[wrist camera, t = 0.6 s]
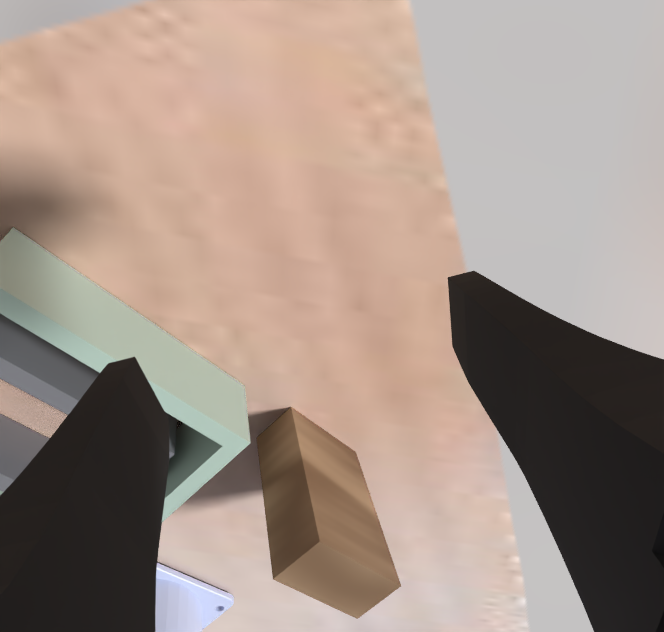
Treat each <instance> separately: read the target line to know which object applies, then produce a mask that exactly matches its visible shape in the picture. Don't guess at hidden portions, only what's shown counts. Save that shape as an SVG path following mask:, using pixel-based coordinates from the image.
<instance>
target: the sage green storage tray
mask: <svg viewBox="0 0 664 632" xmlns="http://www.w3.org/2000/svg"><path fill="white" fill-rule="evenodd" d="M131 357H135V358H136V359H137V361H138V363H139V365H140V367H141V369H142V371H143V372H144V374H145V376H146V378H147V380H148V382H149V384H150V385H151V387H152V389H153V391H154V393H155V395H156V397H157V398H158V400H159V402H160V404H161V406H162V408H163V410H164V411H165V413H166V415H167V417H168V419H169V468H168V476H167V485H166V493H165V501H164V508H163V516H162V522H163V521H164V520H165V519H166V518H167V517H169V516H170V515H171V514H172V513H173V512H174V511H175V510H176V509H178V508H179V507H180V506H181V505H182V504H183V503H184V502H185V501H186V500H188V499H189V498H190V497H191V496H192V495H193V494H194V493H195V492H197V491H198V490H199V489H200V488H201V487H202V486H203V485H204V484H205V483H207V482H208V481H209V480H210V479H211V478H212V477H213V476H214V475H215V474H217V473H218V472H219V471H220V470H221V469H222V468H223V467H224V466H226V465H227V464H228V463H229V462H230V461H231V460H232V459H233V458H234V457H236V456H237V455H238V454H239V453H240V452H241V451H242V450H243V449H245V448H246V447H247V446H248V445H249V444H250V443H251V442H250V432H249V423H248V413H247V403H246V393H245V386H244V385H243V384H242V383H240V382H239V381H237V380H236V379H234V378H233V377H231V376H230V375H228V374H227V373H225V372H224V371H223V370H221V369H220V368H218V367H217V366H215V365H214V364H212V363H211V362H209V361H208V360H207V359H205V358H204V357H202V356H201V355H199V354H198V353H196V352H195V351H193V350H192V349H190V348H189V347H188V346H186V345H185V344H183V343H182V342H180V341H179V340H177V339H176V338H174V337H173V336H171V335H170V334H169V333H167V332H166V331H164V330H163V329H161V328H160V327H158V326H157V325H155V324H154V323H152V322H151V321H150V320H148V319H147V318H145V317H144V316H142V315H141V314H139V313H138V312H136V311H135V310H133V309H132V308H131V307H129V306H128V305H126V304H125V303H123V302H122V301H120V300H119V299H117V298H116V297H114V296H113V295H112V294H110V293H109V292H107V291H106V290H104V289H103V288H101V287H100V286H98V285H97V284H95V283H94V282H93V281H91V280H90V279H88V278H87V277H85V276H84V275H82V274H81V273H79V272H78V271H77V270H75V269H74V268H72V267H71V266H69V265H68V264H66V263H65V262H63V261H62V260H60V259H59V258H58V257H56V256H55V255H53V254H52V253H50V252H49V251H47V250H46V249H44V248H43V247H41V246H40V245H39V244H37V243H36V242H34V241H33V240H31V239H30V238H28V237H27V236H25V235H24V234H22V233H21V232H20V231H18V230H17V229H15V228H14V227H13V228H12V229H11V230H10V231H9V233H8V234H7V235H6V236H5V237H4V238H3V239H2V240H1V241H0V379H2V380H4V381H6V382H8V383H9V384H11V385H13V386H15V387H17V388H19V389H21V390H23V391H24V392H26V393H28V394H30V395H32V396H34V397H36V398H37V399H39V400H41V401H43V402H45V403H47V404H49V405H51V406H52V407H54V408H56V409H58V410H60V411H62V412H64V413H65V414H67V415H69V413H70V412H71V411H72V409H73V408H74V407H75V406H76V404H77V403H78V402H79V400H80V399H81V398H82V396H83V395H84V394H85V392H86V391H87V390H88V388H89V387H90V386H91V384H92V383H93V382H94V380H95V379H96V378H97V376H98V375H99V374H100V373H101V371H102V370H103V369H104V368H105V367H106V365H107V364H108V363H111V362H115V361H119V360H123V359H127V358H131ZM177 419H178V420H180V421H181V422H183V424H182V425H181V426H179V427H178V428H177ZM48 440H49V438H47V437H45V436H43V435H41V434H39V433H37V432H36V431H34V430H32V429H30V428H28V427H26V426H24V425H22V424H20V423H18V422H16V421H14V420H12V419H10V418H8V417H6V416H4V415H2V414H0V495H1V494H2V493H3V492H4V491H5V490H6V489H7V488H8V487H9V486H10V485H11V483H12V482H13V481H14V480H15V479H16V478H17V477H18V476H19V475H20V474H21V472H22V471H23V470H24V469H25V468H26V466H27V465H28V464H29V463H30V462H31V460H32V459H33V458H34V457H35V456H36V455H37V453H38V452H39V451H40V450H41V449H42V447H43V446H44V445H45V444H46V443H47V441H48Z"/></svg>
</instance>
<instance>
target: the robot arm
mask: <svg viewBox="0 0 664 632" xmlns="http://www.w3.org/2000/svg"><path fill="white" fill-rule="evenodd" d="M448 287H449V301H450V316H451V330H452V345H453V348H454V351H455V353H456V355H457V358H458V360H459V362H460V365H461V367H462V369H463V371H464V374H465V376H466V378H467V380H468V382H469V384H470V386H471V387H472V389H473V391H474V392H475V394H476V396H477V397H478V399H479V401H480V402H481V404H482V406H483V407H484V409H485V411H486V412H487V414H488V415H489V417H490V419H491V420H492V422H493V423H494V425H495V427H496V428H497V430H498V432H499V433H500V435H501V436H502V438H503V440H504V441H505V443H506V445H507V446H508V448H509V449H510V451H511V453H512V454H513V456H514V458H515V459H516V461H517V463H518V465H519V466H520V468H521V470H522V472H523V474H524V476H525V478H526V480H527V482H528V484H529V486H530V488H531V490H532V492H533V494H534V496H535V498H536V501H537V502H538V505H539V507H540V509H541V511H542V513H543V515H544V517H545V519H546V522H547V524H548V526H549V528H550V531H551V533H552V535H553V537H554V539H555V541H556V544H557V546H558V548H559V550H560V552H561V554H562V557H563V559H564V561H565V564H566V566H567V568H568V571H569V573H570V575H571V578H572V580H573V582H574V585H575V587H576V589H577V591H578V594H579V596H580V598H581V601H582V603H583V605H584V608H585V610H586V612H587V615H588V618H589V620H590V622H591V625H592V627H593V630H594V632H664V360H663V359H660V358H657V357H653V356H651V355H647V354H645V353H642V352H638V351H636V350H633V349H630V348H627V347H625V346H622V345H620V344H617V343H615V342H612V341H609V340H607V339H604V338H602V337H599V336H597V335H594V334H592V333H590V332H587V331H585V330H583V329H581V328H579V327H577V326H575V325H572V324H570V323H568V322H566V321H564V320H562V319H560V318H558V317H556V316H554V315H552V314H550V313H548V312H546V311H544V310H542V309H540V308H538V307H536V306H535V305H533V304H531V303H529V302H527V301H525V300H524V299H522V298H520V297H518V296H517V295H515V294H513V293H512V292H510V291H508V290H506V289H505V288H503V287H501V286H500V285H498V284H496V283H494V282H493V281H491V280H489V279H487V278H486V277H484V276H482V275H481V274H479V273H477V272H475V271H471V272H467V273H463V274H460V275H456V276H452V277H448ZM168 468H169V419H168V417H167V415H166V413H165V411H164V410H163V408H162V406H161V404H160V402H159V400H158V398H157V397H156V395H155V393H154V391H153V389H152V387H151V385H150V384H149V382H148V380H147V378H146V376H145V374H144V372H143V371H142V369H141V367H140V365H139V363H138V361H137V359H136V358H135V357H131V358H127V359H123V360H119V361H115V362H111V363H108V364H107V365H106V367H105V368H104V369H103V370H102V371H101V373H100V374H99V375H98V376H97V378H96V379H95V380H94V382H93V383H92V384H91V386H90V387H89V388H88V390H87V391H86V392H85V394H84V395H83V396H82V398H81V399H80V400H79V402H78V403H77V404H76V406H75V407H74V408H73V409H72V411H71V412H70V413H69V415H68V416H67V417H66V419H65V420H64V421H63V423H62V424H61V425H60V426H59V428H58V429H57V430H56V432H55V433H54V434H53V435H52V437H51V438H50V439H49V440H48V441H47V443H46V444H45V445H44V446H43V447H42V449H41V450H40V451H39V452H38V453H37V455H36V456H35V457H34V458H33V459H32V460H31V462H30V463H29V464H28V465H27V466H26V468H25V469H24V470H23V471H22V472H21V474H20V475H19V476H18V477H17V478H16V479H15V480H14V481H13V482H12V483H11V485H10V486H9V487H8V488H7V489H6V490H5V491H4V492H3V493H2V494H1V495H0V632H202V630H203V629H204V628H205V627H206V626H208V625H209V624H210V623H211V622H213V621H214V620H215V619H216V618H217V617H219V616H220V615H221V614H222V613H224V612H225V611H226V610H227V609H229V608H230V607H231V606H232V605H233V603H234V598H233V595H231V594H229V593H227V592H225V591H222V590H220V589H218V588H215V587H213V586H211V585H208V584H206V583H203V582H201V581H199V580H196V579H194V578H192V577H189V576H187V575H185V574H182V573H180V572H178V571H175V570H173V569H171V568H168V567H166V566H164V565H161V564H159V563H157V557H158V547H159V540H160V532H161V524H162V516H163V508H164V501H165V493H166V485H167V476H168Z"/></svg>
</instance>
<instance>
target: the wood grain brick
mask: <svg viewBox="0 0 664 632" xmlns="http://www.w3.org/2000/svg"><path fill="white" fill-rule="evenodd" d="M257 446H258V454H259V463H260V471H261V480H262V489H263V497H264V506H265V514H266V523H267V531H268V540H269V548H270V557H271V565H272V574H273V579H274V580H276V581H278V582H280V583H282V584H284V585H287V586H289V587H291V588H293V589H295V590H297V591H299V592H301V593H304V594H306V595H308V596H310V597H312V598H314V599H316V600H318V601H321V602H323V603H325V604H327V605H329V606H331V607H333V608H335V609H338V610H340V611H342V612H344V613H346V614H348V615H350V616H353V617H355V618H357V619H358V618H359V617H360V616H362V615H363V614H364V613H366V612H367V611H368V610H370V609H371V608H372V607H374V606H375V605H376V604H378V603H379V602H380V601H382V600H383V599H384V598H386V597H387V596H388V595H390V594H391V593H392V592H394V591H395V590H396V589H398V588H399V587H400V586H401V584H400V581H399V578H398V575H397V572H396V569H395V567H394V564H393V561H392V558H391V555H390V552H389V549H388V546H387V543H386V540H385V537H384V534H383V531H382V528H381V525H380V522H379V519H378V516H377V513H376V511H375V508H374V505H373V502H372V499H371V496H370V493H369V490H368V487H367V484H366V481H365V478H364V475H363V472H362V469H361V466H360V463H359V460H358V457H357V455H356V452H355V451H353V450H352V449H351V448H349V447H348V446H346V445H345V444H343V443H342V442H341V441H339V440H338V439H336V438H335V437H333V436H332V435H331V434H329V433H328V432H326V431H325V430H323V429H322V428H321V427H319V426H318V425H316V424H315V423H313V422H312V421H310V420H309V419H308V418H306V417H305V416H303V415H302V414H300V413H299V412H298V411H296V410H295V409H293V408H292V407H290V408H289V409H288V410H287V411H286V412H285V413H284V414H283V415H281V416H280V417H279V418H278V419H277V420H276V421H275V422H274V423H273V424H271V425H270V426H269V427H268V428H267V429H266V430H265V431H264V432H262V433H261V434H260V435H259V436H258V437H257Z"/></svg>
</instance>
